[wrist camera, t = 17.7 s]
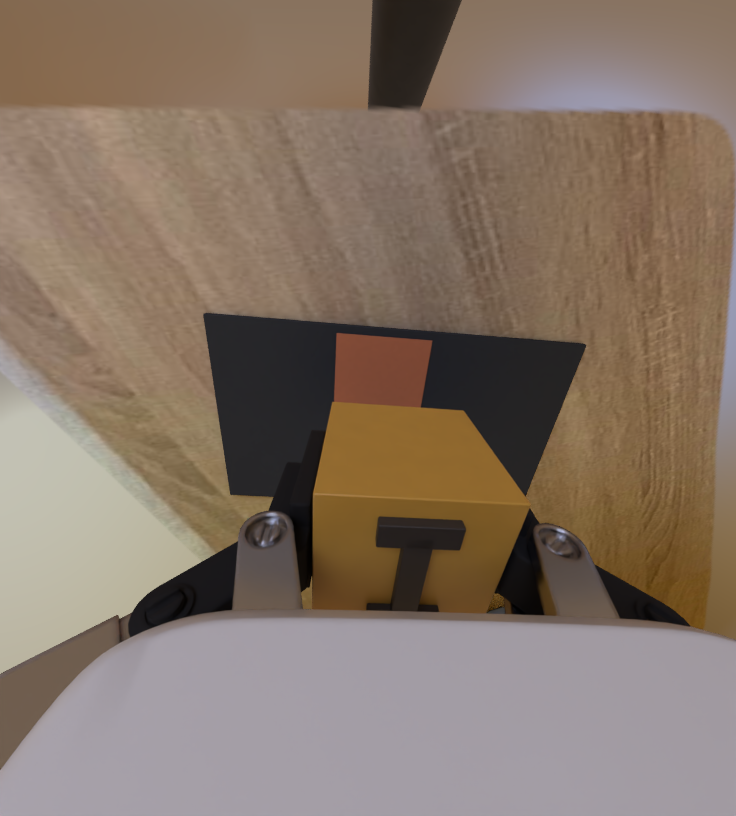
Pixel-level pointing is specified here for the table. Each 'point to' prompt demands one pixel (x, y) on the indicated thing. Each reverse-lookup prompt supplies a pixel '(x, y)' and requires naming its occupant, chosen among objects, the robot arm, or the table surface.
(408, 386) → the word mat
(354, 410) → the letter i
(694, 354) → the table surface
